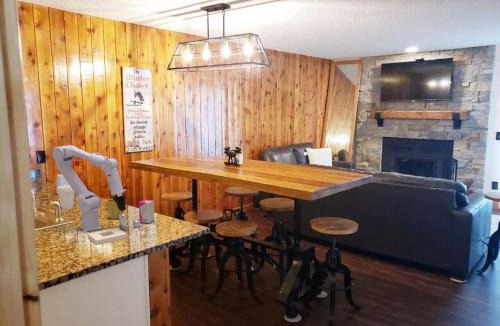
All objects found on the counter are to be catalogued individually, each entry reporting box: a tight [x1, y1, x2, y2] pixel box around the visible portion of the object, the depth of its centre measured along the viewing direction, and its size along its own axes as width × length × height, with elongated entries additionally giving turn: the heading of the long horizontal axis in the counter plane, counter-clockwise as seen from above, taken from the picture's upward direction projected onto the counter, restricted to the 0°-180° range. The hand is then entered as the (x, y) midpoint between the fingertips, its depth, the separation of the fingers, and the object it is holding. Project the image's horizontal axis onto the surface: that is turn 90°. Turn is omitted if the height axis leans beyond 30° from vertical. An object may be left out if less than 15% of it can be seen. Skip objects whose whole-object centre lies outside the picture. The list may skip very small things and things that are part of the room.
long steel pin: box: [118, 212, 128, 232], centre depth 190 cm, size 4×4×8 cm
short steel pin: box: [132, 218, 141, 229], centre depth 194 cm, size 4×4×4 cm
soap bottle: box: [55, 171, 69, 196], centre depth 266 cm, size 10×14×22 cm
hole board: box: [87, 227, 128, 245], centre depth 178 cm, size 12×14×2 cm
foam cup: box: [56, 185, 75, 210], centre depth 229 cm, size 10×9×13 cm
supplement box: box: [138, 199, 155, 225], centre depth 202 cm, size 6×6×12 cm
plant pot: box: [105, 197, 126, 220], centre depth 210 cm, size 10×10×10 cm
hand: (122, 209), depth 186 cm, fingers open, 7 cm apart
